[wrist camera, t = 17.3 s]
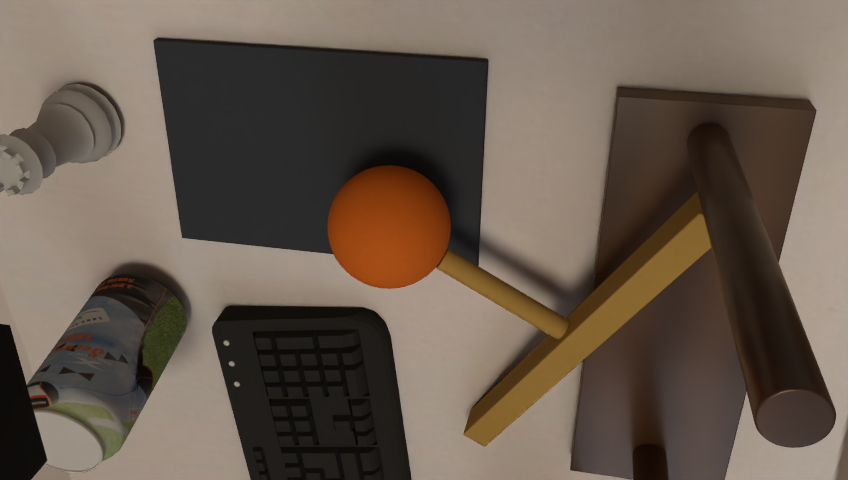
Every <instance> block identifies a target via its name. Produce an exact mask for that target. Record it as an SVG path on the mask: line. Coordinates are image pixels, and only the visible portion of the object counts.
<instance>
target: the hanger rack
mask: <svg viewBox="0 0 848 480" xmlns="http://www.w3.org/2000/svg"><path fill="white" fill-rule="evenodd" d="M815 115H816V109H815V107H814V106H813V105H812V103H811V102H810V101H809V100H797V99H782V98H768V97H753V96H738V95H723V94H708V93H694V92H679V91H664V90H649V89H635V88H620V87H619V88H618V89H617V97H616V105H615V113H614V121H613V128H612V136H611V144H610V152H609V160H608V168H607V176H606V183H605V191H604V199H603V207H602V215H601V223H600V231H599V238H598V246H597V254H596V262H595V270H594V278H593V286H592V293H593V292H594V291H595V290H596V289H597V288H598V287H599V286H600V285H601V284H602V283H603V282H604V281H605V280H606V279H607V278H608V277H609V276H610V275H611V274H612V273H613V272H614V271H615V270H616V269H617V268H618V267H619V266H621V265H622V264H623V263H624V262H625V261H626V260H627V259H628V258H629V257H630V256H631V255H632V254H633V253H634V252H635V251H636V250H637V249H638V248H639V247H640V246H641V245H642V244H643V243H644V242H645V241H646V240H647V239H648V238H650V237H651V236H652V235H653V234H654V233H655V232H656V231H657V230H658V229H659V228H660V227H661V226H662V225H663V224H664V223H665V222H666V221H667V220H668V219H669V218H670V217H671V216H672V215H673V214H674V213H675V212H676V211H677V210H679V209H680V208H681V207H682V206H683V205H684V204H685V203H686V202H687V201H688V200H689V199H690V198H691V197H692V196H693V195H694V194H695V193H696V192H697V191H698V195H699V199H700V203H701V207H702V211H703V215H704V219H705V223H706V228H707V232H708V236H709V240H710V244H711V248H710V249H709V250H708V251H707V252H705V253H704V254H703V255H702V256H701V257H700V258H699V259H697V260H696V261H695V262H694V263H693V264H692V265H691V266H690V267H688V268H687V269H686V270H685V271H684V272H683V273H682V274H680V275H679V276H678V277H677V278H676V279H675V280H674V281H672V282H671V283H670V284H669V285H668V286H667V287H666V288H664V289H663V290H662V291H661V292H660V293H659V294H658V295H657V296H655V297H654V298H653V299H652V300H651V301H650V302H649V303H647V304H646V305H645V306H644V307H643V308H642V309H641V310H639V311H638V312H637V313H636V314H635V315H634V316H633V317H632V318H630V319H629V320H628V321H627V322H626V323H625V324H624V325H622V326H621V327H620V328H619V329H618V330H617V331H616V332H614V333H613V334H612V335H611V336H610V337H609V338H608V339H607V340H605V341H604V342H603V343H602V344H601V345H600V346H599V347H597V348H596V349H595V350H594V351H593V352H592V353H591V354H589V355H588V356H587V357H586V358H585V359H584V360H583V364H582V372H581V380H580V388H579V396H578V404H577V411H576V419H575V427H574V435H573V443H572V451H571V466H570V470H572V471H579V472H586V473H593V474H600V475H607V476H614V477H620V478H627V479H633V480H725V476H726V472H727V468H728V464H729V460H730V456H731V452H732V448H733V444H734V440H735V436H736V432H737V428H738V424H739V420H740V416H741V412H742V408H743V404H744V400H745V396H746V391H747V394H748V398H749V402H750V406H751V410H752V414H753V418H754V422H755V425H756V428H757V430H758V431H759V433H760V434H761V435H762V436H763V437H764V438H765V439H767V440H768V441H770V442H772V443H774V444H776V445H780V446H784V447H792V448H794V447H804V446H809V445H812V444H814V443H817V442H818V441H820V440H822V439H823V438H825V437H826V436H827V435H828V434H829V433H830V431H831V430H832V428H833V426H834V424H835V420H836V411H835V408H834V405H833V403H832V400H831V397H830V395H829V392H828V390H827V387H826V385H825V382H824V379H823V377H822V374H821V372H820V369H819V366H818V364H817V361H816V359H815V356H814V353H813V351H812V348H811V346H810V343H809V341H808V338H807V335H806V333H805V330H804V328H803V325H802V322H801V320H800V317H799V315H798V312H797V310H796V307H795V304H794V302H793V299H792V297H791V294H790V291H789V289H788V286H787V284H786V281H785V278H784V276H783V273H782V271H781V268H780V266H779V259H780V255H781V251H782V247H783V243H784V239H785V235H786V231H787V227H788V223H789V219H790V215H791V211H792V207H793V203H794V199H795V195H796V191H797V187H798V183H799V179H800V175H801V171H802V167H803V163H804V159H805V155H806V151H807V147H808V143H809V139H810V135H811V131H812V127H813V123H814V119H815Z"/></svg>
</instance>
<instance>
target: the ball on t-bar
mask: <svg viewBox="0 0 848 480" xmlns="http://www.w3.org/2000/svg"><path fill="white" fill-rule="evenodd" d="M327 229H328V238H329V243H330V246H331V249H332V251H333V253H334V255H335V257H336V259H337V261H338V262H339V264H340V265H341V266H342V267H343V268H344V269H345V271H347V272H348V273H349V274H350V275H351V276H353V277H354V278H356V279H357V280H359V281H361V282H363V283H365V284H367V285H370V286H374V287H379V288H388V289H391V288H400V287H405V286H408V285H411V284H414V283H416V282H418V281H420V280H421V279H423V278H424V277H426V276H427V275H428V274H429V273H431V272H432V271H433V270H434V269H435V268H437V269H439V270H440V271H442V272H444V273H445V274H447V275H449V276H450V277H452V278H454V279H456V280H457V281H459V282H461V283H462V284H464V285H466V286H467V287H469V288H471V289H473V290H474V291H476V292H478V293H479V294H481V295H483V296H484V297H486V298H488V299H489V300H491V301H493V302H495V303H496V304H498V305H500V306H501V307H503V308H505V309H506V310H508V311H510V312H511V313H513V314H515V315H517V316H518V317H520V318H522V319H523V320H525V321H527V322H528V323H530V324H532V325H534V326H535V327H537V328H539V329H540V330H542V331H544V332H545V333H547V334H549V335H548V336H547V337H546V338H545V339H544V340H543V341H542V342H541V343H540V344H539V345H538V346H537V347H536V348H535V349H534V350H533V351H531V352H530V353H529V354H528V355H527V356H526V357H525V358H524V359H523V360H522V361H521V362H520V363H519V364H518V365H517V366H516V367H515V368H514V369H513V370H512V371H511V372H510V373H509V374H508V375H507V376H506V377H505V378H504V379H502V380H501V381H500V382H499V383H498V384H497V385H496V386H495V387H494V388H493V389H492V390H491V391H490V392H489V393H488V394H487V395H486V396H485V397H484V398H483V399H482V400H481V401H480V402H479V403H478V404H477V405H476V406H475V407H473V408H472V409H471V411H470V414H469V418H468V421H467V424H466V427H465V430H464V435H465V436H467V437H469V438H470V439H472V440H474V441H476V442H477V443H479V444H481V445H483V446H486V445H487V444H488V443H489V442H491V441H492V440H493V439H494V438H495V437H496V436H497V435H499V434H500V433H501V432H502V431H503V430H504V429H505V428H506V427H508V426H509V425H510V424H511V423H512V422H513V421H514V420H516V419H517V418H518V417H519V416H520V415H521V414H522V413H524V412H525V411H526V410H527V409H528V408H529V407H530V406H531V405H533V404H534V403H535V402H536V401H537V400H538V399H539V398H541V397H542V396H543V395H544V394H545V393H546V392H547V391H549V390H550V389H551V388H552V387H553V386H554V385H555V384H557V383H558V382H559V381H560V380H561V379H562V378H563V377H564V376H566V375H567V374H568V373H569V372H570V371H571V370H572V369H574V368H575V367H576V366H577V365H578V364H579V363H580V362H582V361H583V360H584V359H585V358H586V357H587V356H588V355H589V354H591V353H592V352H593V351H594V350H595V349H596V348H597V347H599V346H600V345H601V344H602V343H603V342H604V341H605V340H607V339H608V338H609V337H610V336H611V335H612V334H613V333H614V332H616V331H617V330H618V329H619V328H620V327H621V326H622V325H624V324H625V323H626V322H627V321H628V320H629V319H630V318H632V317H633V316H634V315H635V314H636V313H637V312H638V311H639V310H641V309H642V308H643V307H644V306H645V305H646V304H647V303H649V302H650V301H651V300H652V299H653V298H654V297H655V296H657V295H658V294H659V293H660V292H661V291H662V290H663V289H664V288H666V287H667V286H668V285H669V284H670V283H671V282H672V281H674V280H675V279H676V278H677V277H678V276H679V275H680V274H682V273H683V272H684V271H685V270H686V269H687V268H688V267H690V266H691V265H692V264H693V263H694V262H695V261H696V260H697V259H699V258H700V257H701V256H702V255H703V254H704V253H705V252H707V251H708V250H709V249H710V248H711V244H710V240H709V236H708V232H707V228H706V223H705V219H704V215H703V211H702V207H701V203H700V199H699V195H698V191H697V192H696V193H695V194H694V195H693V196H692V197H691V198H690V199H689V200H688V201H687V202H686V203H685V204H684V205H683V206H682V207H681V208H680V209H679V210H677V211H676V212H675V213H674V214H673V215H672V216H671V217H670V218H669V219H668V220H667V221H666V222H665V223H664V224H663V225H662V226H661V227H660V228H659V229H658V230H657V231H656V232H655V233H654V234H653V235H652V236H651V237H650V238H648V239H647V240H646V241H645V242H644V243H643V244H642V245H641V246H640V247H639V248H638V249H637V250H636V251H635V252H634V253H633V254H632V255H631V256H630V257H629V258H628V259H627V260H626V261H625V262H624V263H623V264H622V265H621V266H619V267H618V268H617V269H616V270H615V271H614V272H613V273H612V274H611V275H610V276H609V277H608V278H607V279H606V280H605V281H604V282H603V283H602V284H601V285H600V286H599V287H598V288H597V289H596V290H595V291H594V292H593V293H592V294H590V295H589V296H588V297H587V298H586V299H585V300H584V301H583V302H582V303H581V304H580V305H579V306H578V307H577V308H576V309H575V310H574V311H573V312H572V313H571V314H570V315H569V316H568V317H567V318H564V317H563V316H561V315H559V314H558V313H556V312H554V311H552V310H551V309H549V308H547V307H546V306H544V305H542V304H541V303H539V302H537V301H536V300H534V299H532V298H531V297H529V296H527V295H526V294H524V293H522V292H520V291H519V290H517V289H515V288H514V287H512V286H510V285H509V284H507V283H505V282H504V281H502V280H500V279H499V278H497V277H495V276H494V275H492V274H490V273H488V272H487V271H485V270H483V269H482V268H480V267H478V266H477V265H475V264H473V263H472V262H470V261H468V260H467V259H465V258H463V257H462V256H460V255H458V254H456V253H455V252H453V251H451V250H450V249H447V247H448V243H449V239H450V232H451V221H450V215H449V211H448V207H447V204H446V202H445V200H444V198H443V196H442V195H441V193H440V191H439V190H438V189H437V188H436V186H435V185H434V184H433V183H432V182H431V181H430V180H428V179H427V178H426V177H424V176H423V175H421V174H420V173H418V172H416V171H414V170H411V169H408V168H405V167H401V166H393V165H386V166H378V167H373V168H370V169H367V170H364V171H362V172H360V173H358V174H357V175H355V176H354V177H352V178H351V179H350V180H349V181H347V182H346V183H345V184H344V186H343V187H342V188H341V189H340V190H339V192H338V193H337V195H336V196H335V198H334V200H333V202H332V205H331V208H330V211H329V216H328V225H327Z"/></svg>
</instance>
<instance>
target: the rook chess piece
mask: <svg viewBox="0 0 848 480" xmlns="http://www.w3.org/2000/svg"><path fill="white" fill-rule="evenodd" d="M120 138H121V123H120V120H119V117H118V115H117V112H116V110H115V108H114V106H113V105H112V104H111V103H110V102H109V100H108V99H107V98H106V97H105V96H103V95H102V94H100V93H99V92H97V91H96V90H94V89H93V88H91V87H87V86H83V85H79V84H73V85H68V86H63V87H62V88H61V89H59V90H58V91H57V92H54V93H53V94H52V95H51V96H50V97H48V98H47V99H46V100H45V101H44V103H43V104H42V107H41V110H40V113H39V115H38V118H37V121H36V122H35V123H33V124H32V125H31V126H30V127H28V128H27V129H25V128H23V129H17V130H15V131H13V132H12V133H11V134H10V135H6V134H2V135H0V192H1V191H3V190H6V193H7V196H9V195H15V194H21V195H23V194H29V193H33V192H34V191H35V190H36V189H38V188H39V187H40V184H41V182H42V179H43V178H47V177H48V176H50V175H51V174H52V173H53V172H54V169H55V167H57V166H59V165H62V164H64V163H67V162H71V163H74V162H77V163H86V162H93V161H97V160H99V159H100V158H101V157H103V156H107V155H108V154H109V153H111V152H112V151H113V150H115V149H116V147H117V145H118V143H119V140H120Z"/></svg>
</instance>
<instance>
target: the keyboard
mask: <svg viewBox="0 0 848 480" xmlns="http://www.w3.org/2000/svg"><path fill="white" fill-rule="evenodd" d="M212 334H213V338H214V341H215V345H216V349H217V353H218V357H219V360H220V364H221V368H222V372H223V376H224V379H225V383H226V387H227V391H228V395H229V398H230V402H231V406H232V410H233V414H234V417H235V421H236V425H237V429H238V433H239V436H240V440H241V444H242V448H243V452H244V455H245V459H246V463H247V467H248V471H249V474H250V478H251V480H411V474H410V467H409V460H408V454H407V447H406V440H405V433H404V426H403V419H402V412H401V406H400V399H399V392H398V385H397V378H396V371H395V364H394V358H393V351H392V344H391V337H390V334H389V331H388V329H387V326H386V323H385V322H384V321H383V320H382V319H381V317H380V316H379V315H378V314H377V313H376V312H374V311H371V310H368V309H365V308H342V307H280V306H228V307H226V308H225V309H224V311H223V312H222V313H221V315H220V316H219V317H218V319H217V320H216V322H215V323H214V325H213V327H212Z"/></svg>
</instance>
